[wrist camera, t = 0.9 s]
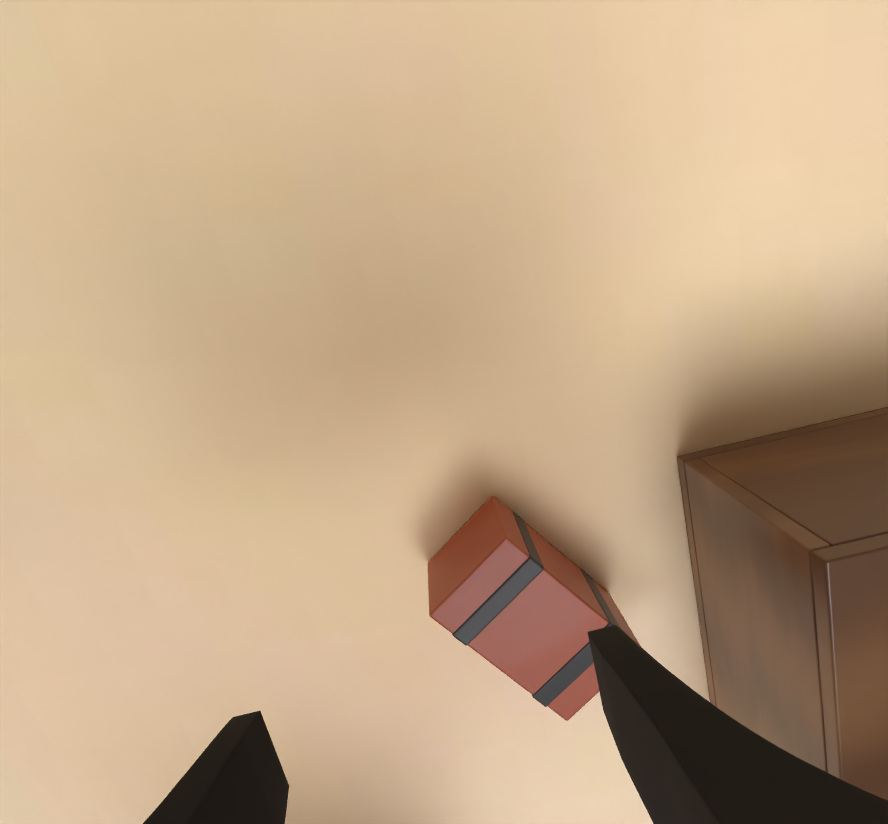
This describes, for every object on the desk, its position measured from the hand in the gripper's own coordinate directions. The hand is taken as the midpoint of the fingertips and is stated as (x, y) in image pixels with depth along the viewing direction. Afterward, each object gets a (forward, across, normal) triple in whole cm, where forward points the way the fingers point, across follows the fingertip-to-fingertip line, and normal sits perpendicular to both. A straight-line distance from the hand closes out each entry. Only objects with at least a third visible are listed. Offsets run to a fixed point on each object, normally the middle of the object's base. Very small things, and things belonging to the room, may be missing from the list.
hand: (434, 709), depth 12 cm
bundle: (+10, -3, +4) cm, 11 cm away
